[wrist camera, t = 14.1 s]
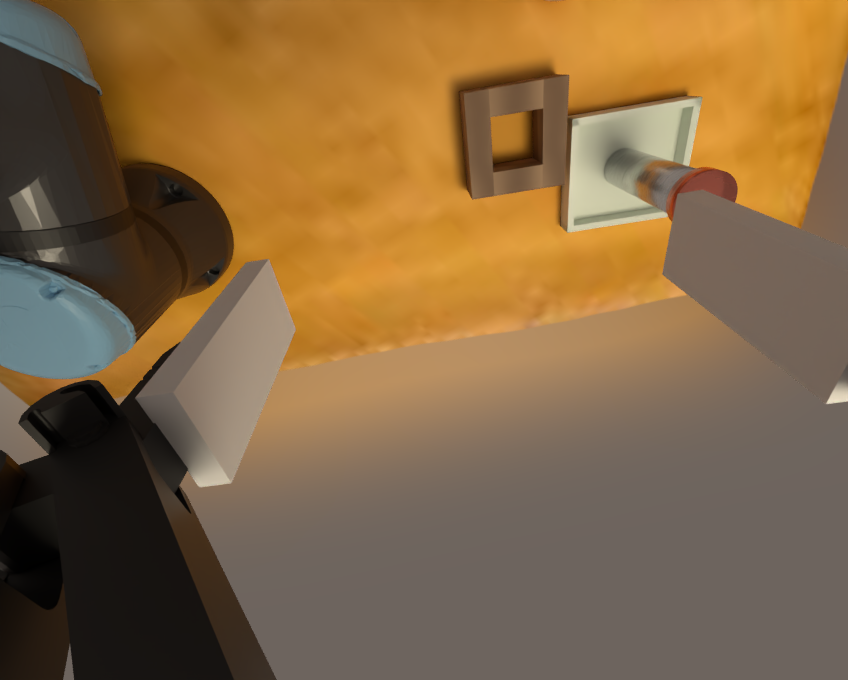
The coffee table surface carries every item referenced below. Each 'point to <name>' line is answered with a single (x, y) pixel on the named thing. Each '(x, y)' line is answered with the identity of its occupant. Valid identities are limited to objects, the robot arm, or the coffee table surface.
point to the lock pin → (664, 179)
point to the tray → (608, 132)
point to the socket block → (548, 135)
